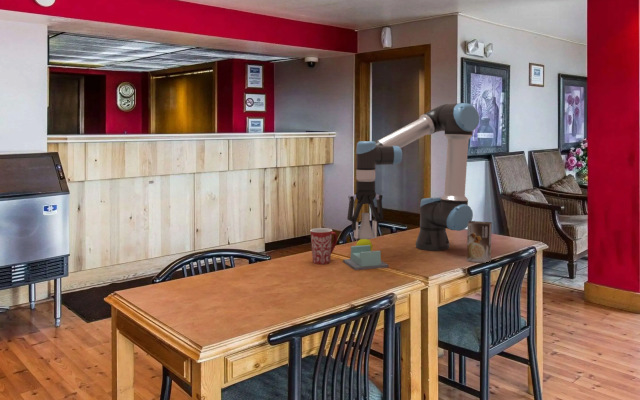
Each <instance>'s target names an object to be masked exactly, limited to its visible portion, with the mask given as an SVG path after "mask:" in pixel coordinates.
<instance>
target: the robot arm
mask: <svg viewBox="0 0 640 400" xmlns="http://www.w3.org/2000/svg"><path fill="white" fill-rule="evenodd" d="M479 123H480V114H479V111H478V110H477V108H476V107H475V106H474V105H473V104H471V103H465V102H464V103H463V102H458V103H447V104H446V103H444V104H441V105H439V106H438V105H437V106H436V107H434V108H433V109H430V110H429V111H427V112H425V113H423V114H421V115H420V116H419V117H418V119H417V120H414V121H413V122H410V123H409V124H407V125H405V126H403V127H400V128H399V129H397V130H395V131H394V132H391V133H390V134H388V135H386V136H384V137H382V138H380V139H378V140H376V141H372V140H371V141H368V140H367V141H365V140H361V141H360V140H359V141H358V142H357V143H356V149H355V150H356V151H355V154H356V158H355V159H356V160H355V161H356V162H355V163H356V168H355V169H356V172H355V173H356V174H355V175H356V176H355V178H356V180H357V181H356V182H355V185H356V186H355V190H356V191H355V194H353V195H348V200H349V201H348V210H347V217H346V218H347V220H348V221H350V222H351V230H352V231H353V238H354V239H356V240H357V239H359V238H358V230H359V222H358V218H359V215H360V212H361V211H362V207H363V205H368V206H369V208H370V211H371V215H372V216H373V219H372V225H371V229H372V232H373V235H374V238H373V239H375V238H377V237H378V236H377V233H378V231H377V230H379V226H380V223H379V222H380V221H381V220H383V219H384V211H383V201H382V200H383V195H382V194H377V193H376V181H375V180H376V166H381V165H382V166H388V165H389V166H390V165H392V166H393V165H399V164H400V163H401V162H402V160H403V153H404V152H403V150H402V148H403V147H406V146H407V145H409V144H411V143H413V142H415V141H417V140H419V139H421V138H423V137H425V136H426V135H429V136H430V135H433V134H436V133H439V132H444V136H445V138H446V139H447V144H446V146H447V148H446V161H445V162H446V166H445V178H444V179H445V180H444V181H445V182H444V194H443V195H442V196H441V197H426V198H422V199H421V200H420V203H419V204H420V205H419V232H418V236H417V237H416V241H415V247H416V248H417V249H418V250H423V251H432V252H433V251H438V252H439V251H446V250H449V249H450V240H449V237H448V234H447V229H448V230H451V231H459V232H460V231H463V230H465V229H467V227H468V223H469V221H473V218H474V217H473V216H474V213H473V209H472V208H471V207H470V205H469V198H468V197H466V184H467V183H466V181H467V166H468V150H469V148H468V147H469V140H470V139H471V138H472V137H473V134H474V133H473V132H474V131H475V130H476V129H477V128H478V126H479ZM374 199H375V200H376V206H375V202H374ZM355 200H357V202H356V207H355ZM354 208H355V210H354ZM376 208H377V209H376Z"/></svg>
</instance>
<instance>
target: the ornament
mask: <svg viewBox="0 0 640 400" xmlns="http://www.w3.org/2000/svg"><path fill="white" fill-rule="evenodd" d="M363 245H370V251H373V243H372V241H371V239H359V240H358V241H357V242H356V244H355V246H363Z"/></svg>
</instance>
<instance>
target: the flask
mask: <svg viewBox="0 0 640 400" xmlns="http://www.w3.org/2000/svg"><path fill="white" fill-rule="evenodd" d="M361 216H362V217H361V218H362V219H361V221H360V225H359V227H358V239H359V240H360V239H369V240H372V239H375V238H374V235H373V232H372V225H371V223H370V213H369V212H362V213H361Z"/></svg>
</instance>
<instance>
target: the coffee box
mask: <svg viewBox="0 0 640 400" xmlns="http://www.w3.org/2000/svg"><path fill="white" fill-rule="evenodd" d="M492 224H493V222H490V221H480V220H477V221H476V220H472V221H469V223H468V226H467V228H466V229H467V234H466V235H467V236H466V238H467V241H466V243H467V244H466V262H473V263H484V264H487V263H486V262H489V261H490V262H491V261H492V228H493V227H492V226H493V225H492ZM490 262H489V263H490Z"/></svg>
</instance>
